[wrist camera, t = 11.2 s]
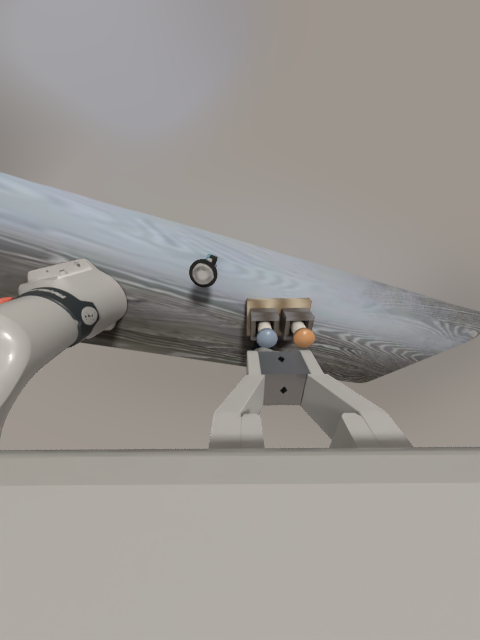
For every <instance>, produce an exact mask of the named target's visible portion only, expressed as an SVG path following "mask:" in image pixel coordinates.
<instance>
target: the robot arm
mask: <svg viewBox="0 0 480 640" xmlns="http://www.w3.org/2000/svg"><path fill="white" fill-rule="evenodd" d="M79 264H80V266H79ZM126 310H127V299H126V296H125V293H124V291H123V290H122V288H121V287H120V285H119V284H118V283H117V282H116V281H115V280H114V279H113V278H111V277H110V276H109V275H107V274H105V273H104V272H102V271H100V270H98V269H97V268H96V267H95V266H94V265H93V264H92V263H91V262H89V261H88V260H87V259H84V258H82V259H78V260H74V261H69V262H65V263H61V264H57V265H52V266H48V267H44V268H40V269H36V270H32V271H29V272H28V283H24V284H21V285H20V286H19V296H18V297H16V298H15V299H13V298H12V297H6V298H1V299H0V436H1V432H2V428H3V425H4V422H5V420H6V417H7V415H8V413H9V411H10V409H11V407H12V405H13V403H14V402H15V400H16V398H17V397H18V395H19V394H20V392H21V391H22V389H23V388H24V387H25V385H26V384H27V382H28V381H29V380H30V379H31V378H32V377H33V375H34V374H35V373H36V372H38V370H40V369H41V368H42V367H43V366H44V365H46V364H47V363H48V362H49V361H50V360H52V359H53V358H54V357H56V356H57V355H58V354H59V353H61V352H62V351H63V350H65V349H66V348H69V347H72V346H74V345H76V344H78V343H80V342H81V341H83V340H84V339H85V338H87V339H90V338H92V337H94V336H95V335H97V334H99V333H100V332H102V331H103V330H111V329H113V328H114V327H115V324H116V322H117V321H118V320H119V319H120V318H121V317H123V315H124V314H125V312H126ZM263 405H301V407H302V408H303V409H304V410H305V411H306V412H307V413H308V415H310V417H311V418H312V419H313V420H314V421H315V422H316V423H317V424H318V425H319V426H320V428H322V429H323V431H324V432H325V433H326V434H327V435H328V436H329V437H330V438H331V439H332V443H331V445H330V447H329V448H280V449H279V448H265V449H264V440H263V433H262V424H261V417H260V416H259V414H260V412H261V409H262V408H263ZM0 640H480V447H417V448H416V447H413V446H412V444H411V443H410V442H409V441H408V439H407V438H406V437H405V435H404V434H403V433H402V432H401V430H400V429H399V428H398V426H396V424H395V423H394V421H393V420H392V419H391V418H390V416H389V415H388V414H387V412H385V411H384V410H382V409H381V408H379V407H378V406H376V405H374V404H373V403H371V402H370V401H368V400H367V399H365V398H364V397H362V396H360V395H359V394H357V393H356V392H354V391H353V390H351V389H350V388H348V387H347V386H345V385H343V384H342V383H340V382H339V381H337V380H336V379H334V378H332V377H331V376H329V375H328V374H324V373H323V372H322V370H321V368H320V366H319V365H318V363H317V361H316V360H315V358H314V356H313V354H312V353H311V351H310V350H298V351H247V375H245V376H244V377H243V378H242V379H241V380H240V382H239V383H238V384H237V385H236V387H235V388H234V389H233V390H232V391H231V393H230V394H229V395H228V396H227V398H226V399H225V400H224V401H223V402H222V404H221V405H220V406H219V407H218V409H217V410H216V411H215V412H214V416H213V423H212V430H211V436H210V444H209V449H131V450H130V449H124V450H122V449H120V450H119V449H118V450H0Z"/></svg>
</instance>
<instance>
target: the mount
mask: <svg viewBox="0 0 480 640" xmlns="http://www.w3.org/2000/svg"><path fill="white" fill-rule="evenodd" d="M311 302H312V301H311V300H310V299H309V298H280V299H247V336H251V341H257V333H258V327H257V321H270V325H271V328H272V329H273V330H274V331H275V332H276V335H277V337H278V335H282V337H283V340H293V332H292V330H291V328H290V321H302V322H303V323H304V325H305V327H306V328H309V329H310V330H311V331H312V327H313V322H314V317H315V316H314V315H313V314H312V313H311V312H310V308H311Z"/></svg>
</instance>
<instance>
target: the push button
mask: <svg viewBox="0 0 480 640" xmlns="http://www.w3.org/2000/svg"><path fill="white" fill-rule="evenodd" d="M216 261H217V257H216V256H213V255H210V254H208V255H207V259H200V260H197V261H195V262H194V263H193V264H192V265H191V267H190V270H189V275H190V278H191V280H192V281H193V282H194V283H195V284H196V285H197V286H200V287H209V286H211V285H213V284H214V283H215V281H216V279H217V270H216V266H215V263H216ZM198 263H201V264H198ZM197 264H198V265H197ZM196 265H197V266H196ZM213 272H214V274H213ZM213 275H214V278H213Z"/></svg>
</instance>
